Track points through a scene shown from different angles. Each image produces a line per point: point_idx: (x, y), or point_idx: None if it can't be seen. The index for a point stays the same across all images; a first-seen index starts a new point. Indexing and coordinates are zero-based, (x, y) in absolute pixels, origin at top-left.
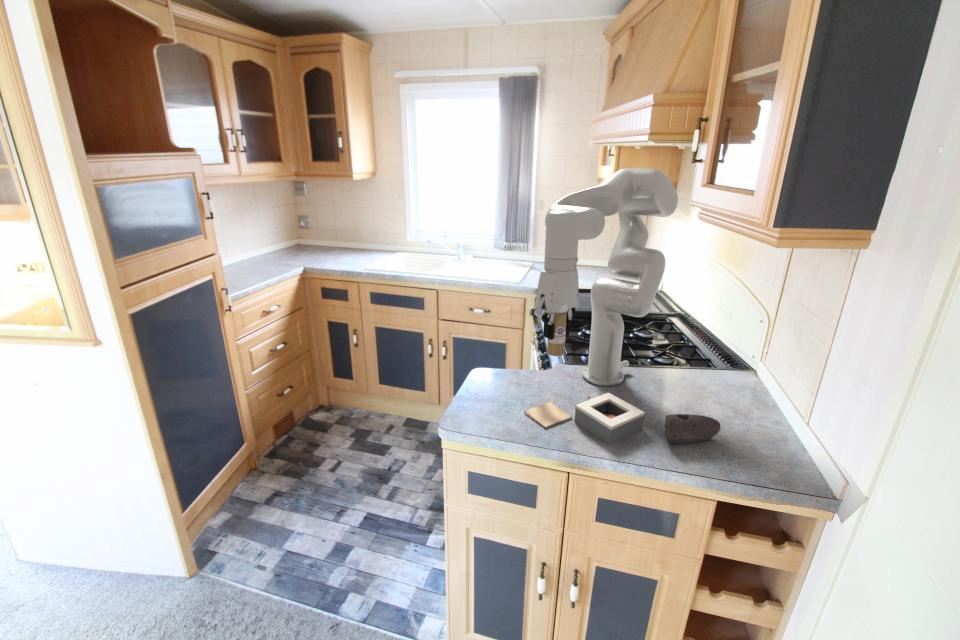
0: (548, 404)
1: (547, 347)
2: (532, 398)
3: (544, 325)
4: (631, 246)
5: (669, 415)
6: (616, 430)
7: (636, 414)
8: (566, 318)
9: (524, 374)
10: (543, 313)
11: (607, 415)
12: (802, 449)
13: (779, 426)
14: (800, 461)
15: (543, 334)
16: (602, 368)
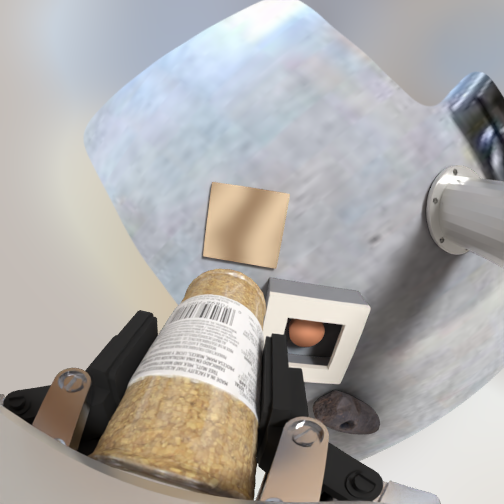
0: (277, 200)
1: (186, 294)
2: (277, 149)
3: (89, 372)
4: None
5: (336, 419)
6: None
7: (323, 380)
8: (261, 461)
9: (350, 65)
10: (38, 418)
11: (316, 325)
12: (393, 445)
13: (427, 422)
14: (371, 452)
15: (137, 314)
16: (456, 232)
